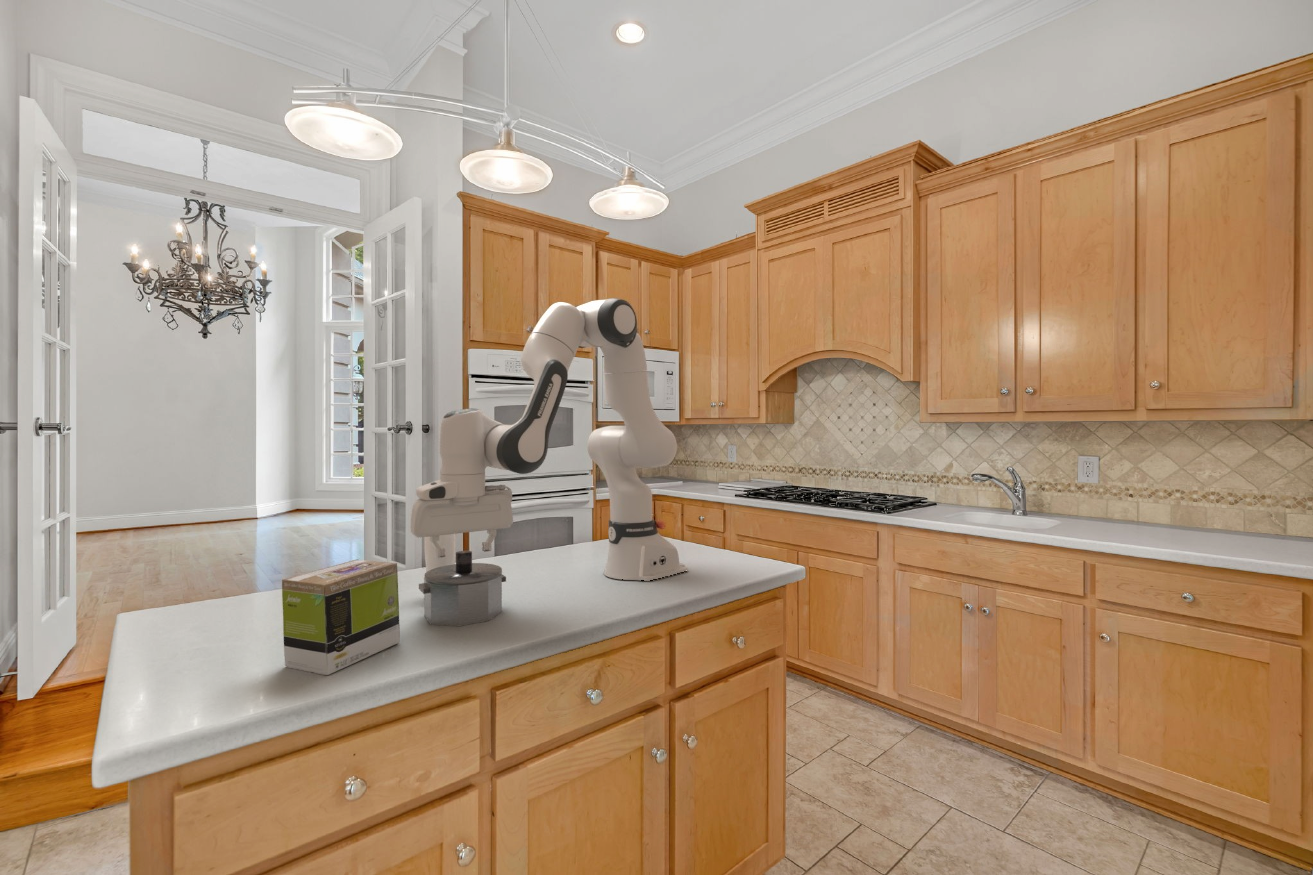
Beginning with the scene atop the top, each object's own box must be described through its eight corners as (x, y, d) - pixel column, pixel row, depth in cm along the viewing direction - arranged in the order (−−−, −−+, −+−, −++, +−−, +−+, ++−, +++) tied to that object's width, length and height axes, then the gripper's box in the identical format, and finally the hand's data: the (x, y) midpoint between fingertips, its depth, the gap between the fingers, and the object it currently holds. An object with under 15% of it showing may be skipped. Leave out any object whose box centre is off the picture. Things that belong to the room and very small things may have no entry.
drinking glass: (461, 593, 137) (460, 529, 137) (448, 601, 130) (447, 534, 130) (433, 592, 138) (433, 528, 137) (419, 601, 131) (418, 533, 131)
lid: (488, 568, 132) (488, 542, 132) (512, 583, 120) (512, 554, 120) (417, 578, 124) (417, 550, 124) (434, 595, 111) (434, 564, 111)
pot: (492, 598, 132) (491, 563, 132) (514, 615, 121) (514, 577, 120) (413, 611, 123) (413, 573, 123) (429, 631, 111) (429, 589, 111)
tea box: (359, 636, 109) (358, 557, 109) (401, 644, 105) (400, 561, 105) (281, 668, 95) (280, 576, 95) (326, 677, 91) (325, 582, 91)
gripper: (506, 482, 130) (507, 545, 130) (408, 489, 119) (409, 557, 119) (517, 485, 125) (517, 550, 125) (414, 492, 113) (415, 563, 114)
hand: (464, 553), depth 122 cm, fingers open, 8 cm apart
